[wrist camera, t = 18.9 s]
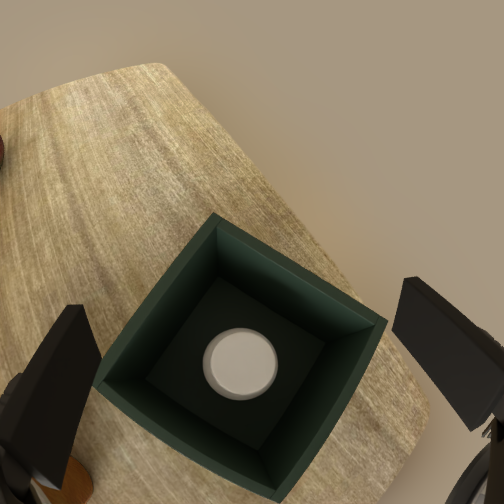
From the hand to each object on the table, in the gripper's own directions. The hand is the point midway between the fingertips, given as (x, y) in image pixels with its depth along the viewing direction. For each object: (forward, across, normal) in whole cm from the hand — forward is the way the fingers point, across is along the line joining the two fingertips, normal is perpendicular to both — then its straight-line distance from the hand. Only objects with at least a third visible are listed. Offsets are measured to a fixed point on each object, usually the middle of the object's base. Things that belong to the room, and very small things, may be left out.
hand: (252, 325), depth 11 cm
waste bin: (+11, 0, -12) cm, 17 cm away
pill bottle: (+10, 0, -12) cm, 16 cm away
